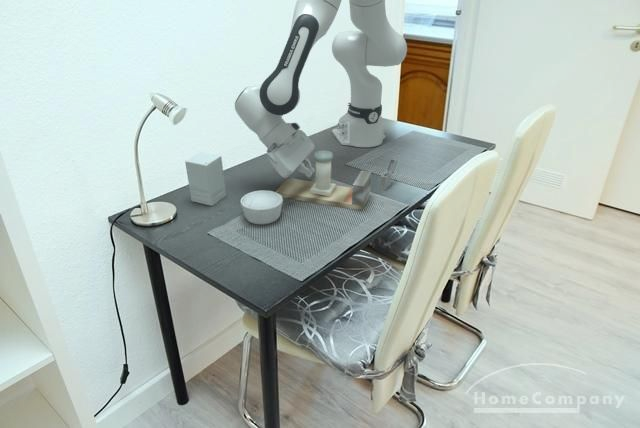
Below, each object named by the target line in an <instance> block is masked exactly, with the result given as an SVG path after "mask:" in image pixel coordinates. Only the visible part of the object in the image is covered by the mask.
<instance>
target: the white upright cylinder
mask: <svg viewBox="0 0 640 428" xmlns="http://www.w3.org/2000/svg"><path fill="white" fill-rule="evenodd" d="M313 155H314V156H313V158H314V159H313V160H314V161H315V181H314V182H315V184H314V185H313V186H312V188H311V189H310V193H312V194H319V195H325V196H330V195H331V194H332V192H333V191H334V189H335V188H336V185H337V184H336V183H333V182H332V160H333V159H334V158H333V157H334V154H333V152H332V151H329V150H318V151H315V152H314V153H313Z"/></svg>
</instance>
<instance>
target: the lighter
mask: <svg viewBox="0 0 640 428" xmlns="http://www.w3.org/2000/svg"><path fill="white" fill-rule="evenodd" d="M397 163H398V160H397V159H394V158H390V159H389V162H388V166H387V170H385V171H383V174H382V175H380V182H379V183H380V184H379V189H380V190H381V191H387V189H389V188H390V187H391V186H392V185H391V183H392V174H394V173H395V169H396V166H397Z"/></svg>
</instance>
